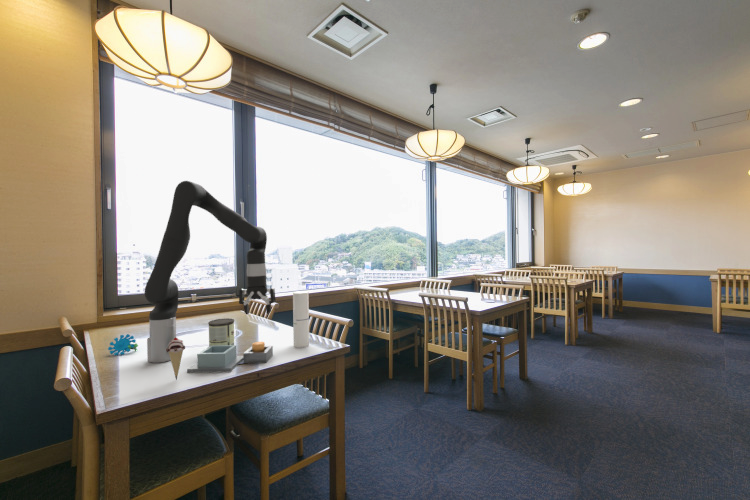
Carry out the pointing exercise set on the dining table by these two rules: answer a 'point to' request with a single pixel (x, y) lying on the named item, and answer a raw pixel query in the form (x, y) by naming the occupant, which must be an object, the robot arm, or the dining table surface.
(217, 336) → the coffee can
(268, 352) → the button housing
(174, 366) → the ice cream cone
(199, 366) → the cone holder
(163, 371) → the dining table surface
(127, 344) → the blue knobby piece
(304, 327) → the cylindrical container
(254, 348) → the button
